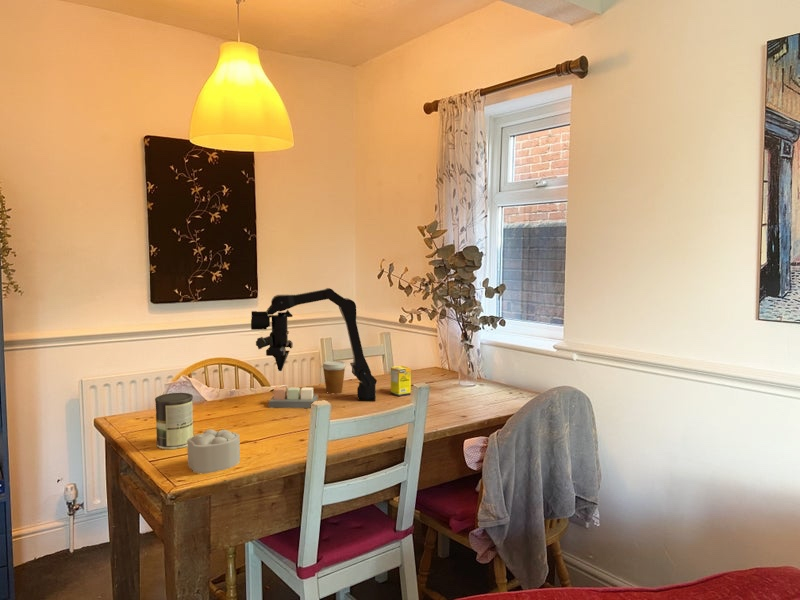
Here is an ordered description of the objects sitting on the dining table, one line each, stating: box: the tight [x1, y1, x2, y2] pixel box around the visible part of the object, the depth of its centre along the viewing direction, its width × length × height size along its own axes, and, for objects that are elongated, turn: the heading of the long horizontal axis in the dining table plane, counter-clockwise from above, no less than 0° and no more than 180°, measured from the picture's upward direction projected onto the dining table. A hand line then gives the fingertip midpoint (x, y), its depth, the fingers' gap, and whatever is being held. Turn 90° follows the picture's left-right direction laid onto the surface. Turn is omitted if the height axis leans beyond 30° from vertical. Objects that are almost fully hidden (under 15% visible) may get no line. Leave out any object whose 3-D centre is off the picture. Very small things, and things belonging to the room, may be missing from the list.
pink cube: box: [273, 386, 288, 399], centre depth 211 cm, size 4×4×4 cm
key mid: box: [287, 386, 301, 400], centre depth 211 cm, size 4×4×4 cm
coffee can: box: [154, 392, 194, 450], centre depth 167 cm, size 10×10×14 cm
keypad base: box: [268, 394, 319, 409], centre depth 211 cm, size 16×10×2 cm, turn 90°
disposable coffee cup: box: [321, 360, 347, 394], centre depth 230 cm, size 10×10×12 cm
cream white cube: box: [300, 387, 314, 400], centre depth 211 cm, size 4×4×4 cm
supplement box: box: [390, 365, 412, 397], centre depth 227 cm, size 6×6×11 cm
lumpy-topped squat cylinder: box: [186, 428, 241, 475], centre depth 151 cm, size 10×13×9 cm
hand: (280, 370), depth 210 cm, fingers closed
